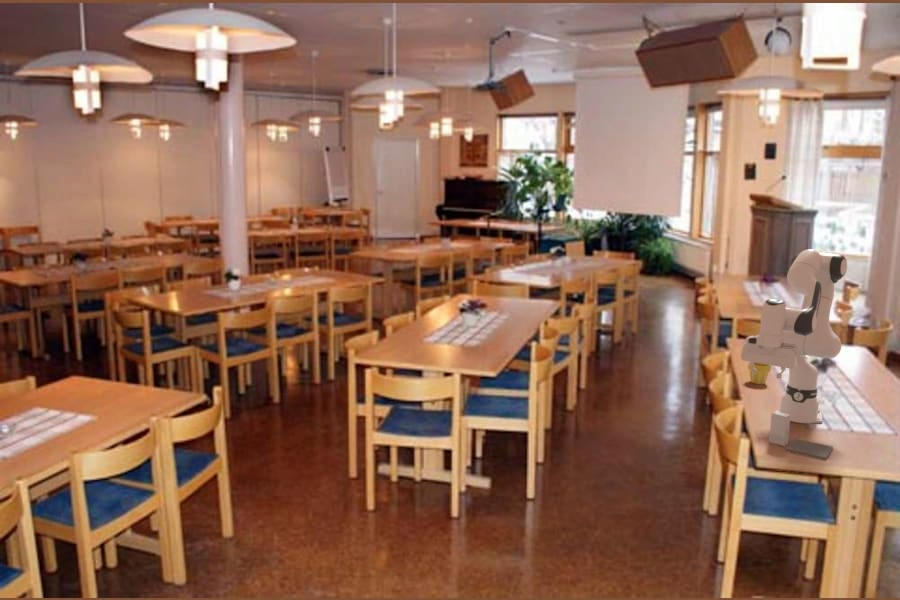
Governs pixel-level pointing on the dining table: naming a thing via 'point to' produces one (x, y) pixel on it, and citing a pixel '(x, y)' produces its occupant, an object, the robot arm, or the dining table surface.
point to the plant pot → (759, 373)
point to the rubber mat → (809, 449)
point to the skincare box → (779, 428)
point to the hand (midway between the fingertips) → (766, 375)
